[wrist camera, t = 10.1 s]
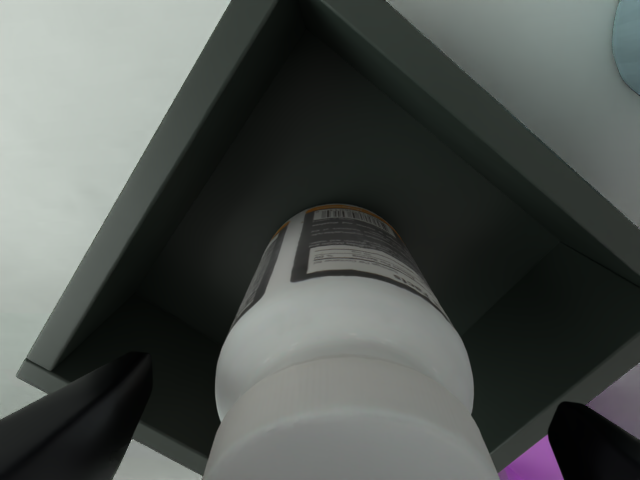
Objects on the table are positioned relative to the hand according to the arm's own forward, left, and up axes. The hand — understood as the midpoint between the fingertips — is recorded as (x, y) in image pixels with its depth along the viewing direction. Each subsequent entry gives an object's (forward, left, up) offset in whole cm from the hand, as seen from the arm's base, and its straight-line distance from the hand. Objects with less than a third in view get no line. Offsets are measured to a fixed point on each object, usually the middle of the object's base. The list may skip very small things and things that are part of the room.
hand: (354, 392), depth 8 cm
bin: (0, 0, -8) cm, 8 cm away
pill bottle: (0, 0, -7) cm, 7 cm away
